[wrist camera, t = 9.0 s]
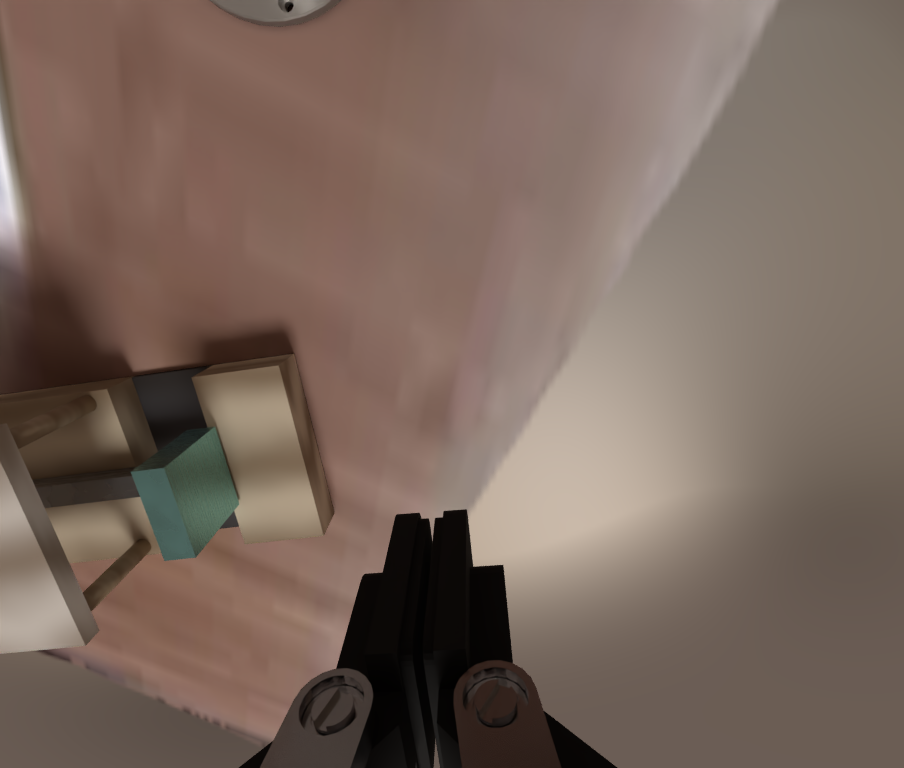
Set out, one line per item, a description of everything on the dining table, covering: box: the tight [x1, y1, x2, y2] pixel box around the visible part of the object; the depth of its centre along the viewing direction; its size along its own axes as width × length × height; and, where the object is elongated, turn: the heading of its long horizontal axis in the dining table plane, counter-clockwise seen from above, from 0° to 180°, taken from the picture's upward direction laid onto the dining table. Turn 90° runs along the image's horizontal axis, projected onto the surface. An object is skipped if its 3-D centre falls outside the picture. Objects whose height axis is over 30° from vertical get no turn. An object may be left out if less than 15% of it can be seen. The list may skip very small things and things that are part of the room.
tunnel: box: [0, 354, 334, 654], centre depth 34 cm, size 14×38×11 cm, turn 99°
